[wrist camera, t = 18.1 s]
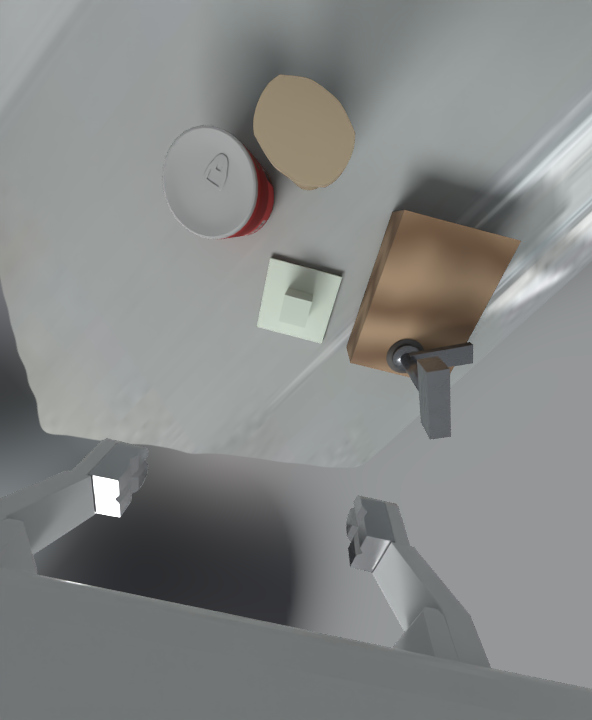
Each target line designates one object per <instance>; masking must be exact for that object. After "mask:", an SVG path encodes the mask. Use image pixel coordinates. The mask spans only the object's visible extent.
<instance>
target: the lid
mask: <svg viewBox="0 0 592 720" xmlns="http://www.w3.org/2000/svg"><path fill="white" fill-rule="evenodd" d="M341 279H342V276H338V275H334V274H331V273H327V272H323V271H319V270H316V269H312V268H308V267H305V266H301V265H297V264H293V263H290V262H286V261H282V260H279V259H275V258H270V263H269V268H268V273H267V278H266V283H265V288H264V293H263V298H262V303H261V308H260V313H259V318H258V323H257V327H260V328H263V329H267V330H271V331H275V332H279V333H283V334H287V335H290V336H294V337H298V338H302V339H306V340H310V341H314V342H317V343H321V344H322V340H323V337H324V334H325V331H326V327H327V324H328V321H329V318H330V315H331V311H332V308H333V305H334V302H335V298H336V295H337V292H338V289H339V286H340V282H341Z"/></svg>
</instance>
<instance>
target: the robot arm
mask: <svg viewBox="0 0 592 720" xmlns="http://www.w3.org/2000/svg"><path fill="white" fill-rule="evenodd" d="M147 456H148V449H147V448H144V447H140V446H136V445H132V444H128V443H125V442H121V441H116V440H112V439H108V438H106V439H104V440H102V441H101V442H100V443H99V444H98V445H97V446H96V447H95V448H94V449H93V450H92V451H91V452H90V453H89V454H88V455H87V456H86V457H85V458H84V459H83V460H82V461H81V462H80V463H79V464H78V465H77V466H76V467H75V468H74V469H73V470H72V471H64V472H62V473H59V474H57V475H55V476H52V477H50V478H48V479H45V480H43V481H40V482H38V483H35V484H33V485H31V486H28V487H26V488H24V489H21V490H19V491H16V492H14V493H12V494H9V495H7V496H5V497H2V498H0V720H592V689H590V688H585V687H580V686H575V685H570V684H565V683H561V682H555V681H550V680H546V679H541V678H536V677H531V676H526V675H521V674H517V673H512V672H507V671H502V670H497V669H493V668H491V667H490V664H489V662H488V659H487V657H486V654H485V651H484V649H483V646H482V644H481V641H480V639H479V636H478V634H477V631H476V629H475V626H474V624H473V621H472V619H471V616H470V614H469V613H468V612H467V611H466V610H465V608H464V607H463V606H462V605H461V604H460V602H459V601H458V600H457V599H456V597H455V596H454V595H453V594H452V593H451V591H450V590H449V589H448V588H447V587H446V585H445V584H444V583H443V582H442V580H441V579H440V578H439V577H438V576H437V574H436V573H435V572H434V571H433V570H432V568H431V567H430V566H429V565H428V563H427V562H426V561H425V560H424V559H423V557H422V556H421V555H420V554H419V553H418V551H417V550H416V549H415V548H414V547H412V546H410V544H409V541H408V538H407V534H406V531H405V527H404V524H403V521H402V517H401V514H400V511H399V507H398V506H397V504H395V503H390V502H385V501H382V500H377V499H372V498H368V497H363V496H357V497H356V499H355V501H354V506H355V507H354V508H352V509H351V510H350V512H349V514H348V518H347V523H346V531H347V537H348V538H349V540H350V541H351V543H350V545H349V547H348V552H349V562H350V567H352V568H356V569H360V570H364V571H368V572H372V573H373V576H374V578H375V580H376V581H377V583H378V585H379V587H380V589H381V590H382V592H383V594H384V595H385V598H386V599H387V601H388V603H389V605H390V606H391V609H392V610H393V612H394V614H395V616H396V618H397V619H398V621H399V623H400V624H401V627H402V628H403V630H404V634H403V635H402V636H401V637H400V639H399V640H398V641H397V642H396V644H395V645H394V646H393V648H390V647H386V646H381V645H376V644H371V643H366V642H360V641H356V640H352V639H346V638H342V637H337V636H332V635H327V634H322V633H318V632H313V631H308V630H303V629H298V628H293V627H289V626H284V625H279V624H274V623H270V622H264V621H260V620H255V619H250V618H245V617H241V616H236V615H231V614H226V613H221V612H216V611H212V610H207V609H201V608H197V607H192V606H187V605H182V604H178V603H173V602H168V601H163V600H158V599H153V598H148V597H144V596H139V595H134V594H128V593H124V592H119V591H114V590H110V589H105V588H100V587H95V586H90V585H85V584H80V583H76V582H71V581H66V580H61V579H56V578H51V577H46V576H41V575H37V568H36V564H35V561H34V557H33V554H35V553H37V552H38V551H40V550H41V549H43V548H44V547H46V546H47V545H48V544H50V543H52V542H53V541H55V540H56V539H58V538H59V537H61V536H63V535H64V534H66V533H67V532H69V531H70V530H72V529H73V528H75V527H76V526H78V525H79V524H81V523H82V522H84V521H85V520H87V519H88V518H90V517H92V516H93V515H94V514H95V513H100V514H105V515H110V516H116V517H120V516H121V515H122V513H123V512H124V511H125V509H126V508H127V506H128V505H129V503H130V502H131V494H132V493H134V492H136V491H138V490H139V489H140V487H141V486H142V484H143V482H144V480H145V478H146V475H147V471H148V463H147V462H146V461H145V459H146V458H147Z"/></svg>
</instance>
